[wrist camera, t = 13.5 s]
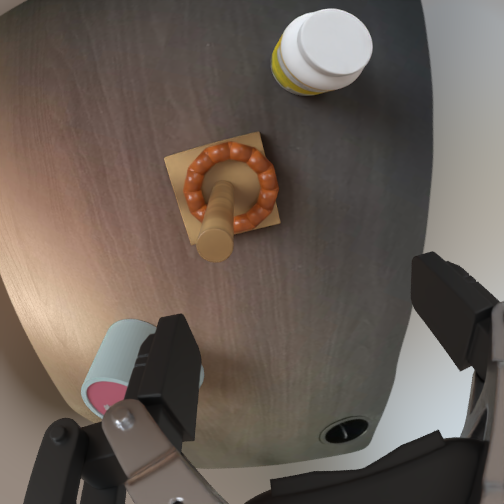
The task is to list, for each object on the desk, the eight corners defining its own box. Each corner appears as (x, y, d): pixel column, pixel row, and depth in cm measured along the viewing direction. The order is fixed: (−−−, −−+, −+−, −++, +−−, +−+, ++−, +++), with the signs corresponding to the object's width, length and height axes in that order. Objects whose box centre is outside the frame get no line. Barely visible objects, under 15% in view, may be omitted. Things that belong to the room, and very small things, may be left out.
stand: (166, 156, 28) (111, 190, 15) (258, 131, 28) (279, 143, 15) (192, 240, 32) (167, 327, 19) (279, 219, 31) (309, 295, 18)
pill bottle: (319, 30, 24) (362, -8, 13) (342, 86, 26) (397, 75, 16) (259, 46, 24) (273, 9, 14) (283, 104, 27) (311, 97, 17)
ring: (174, 157, 27) (170, 159, 26) (263, 131, 27) (265, 132, 25) (201, 239, 31) (200, 245, 29) (285, 216, 30) (288, 222, 29)
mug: (119, 371, 39) (101, 426, 30) (96, 320, 35) (67, 375, 26) (213, 369, 39) (210, 430, 30) (200, 314, 36) (192, 377, 26)
